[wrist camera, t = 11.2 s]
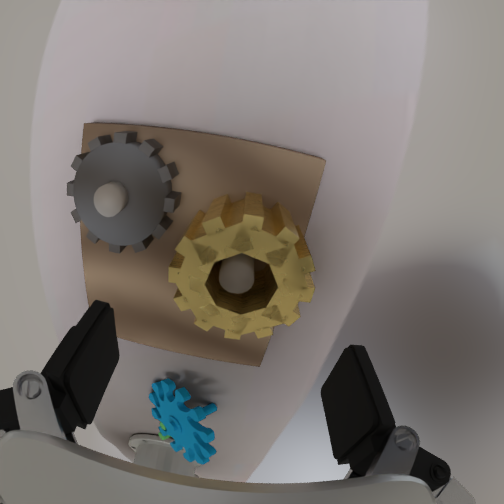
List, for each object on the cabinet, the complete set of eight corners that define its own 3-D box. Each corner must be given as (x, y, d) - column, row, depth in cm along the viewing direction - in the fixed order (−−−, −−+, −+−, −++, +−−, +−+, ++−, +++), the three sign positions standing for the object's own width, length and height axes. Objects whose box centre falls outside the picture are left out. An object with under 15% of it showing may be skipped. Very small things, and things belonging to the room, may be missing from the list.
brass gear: (315, 279, 18) (328, 318, 15) (214, 310, 19) (207, 350, 16) (281, 174, 15) (290, 191, 12) (165, 218, 16) (143, 246, 13)
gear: (164, 367, 22) (221, 463, 18) (213, 351, 27) (265, 434, 22) (134, 398, 27) (174, 469, 23) (172, 385, 32) (211, 450, 28)
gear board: (259, 356, 23) (260, 399, 19) (98, 321, 22) (76, 356, 18) (321, 158, 16) (345, 171, 12) (92, 122, 15) (49, 127, 10)
